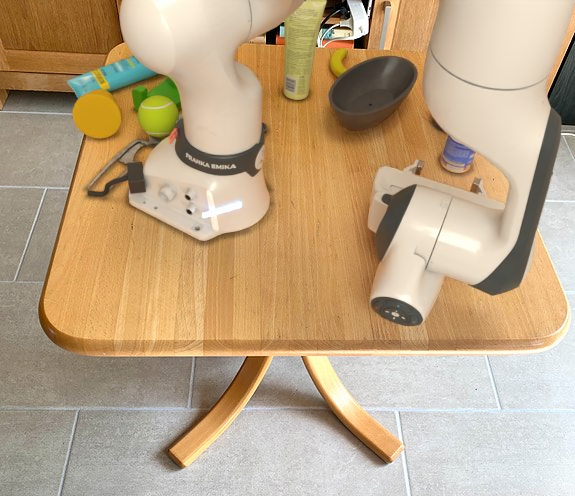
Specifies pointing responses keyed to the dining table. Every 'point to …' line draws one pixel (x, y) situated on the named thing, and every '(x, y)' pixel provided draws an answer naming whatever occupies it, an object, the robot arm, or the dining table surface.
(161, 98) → the tennis ball
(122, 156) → the nutcracker
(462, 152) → the pill bottle
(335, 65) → the fruit
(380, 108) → the bowl
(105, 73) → the tube
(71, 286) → the dining table surface
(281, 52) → the dining table surface
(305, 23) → the tube
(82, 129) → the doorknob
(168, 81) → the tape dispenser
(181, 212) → the robot arm
